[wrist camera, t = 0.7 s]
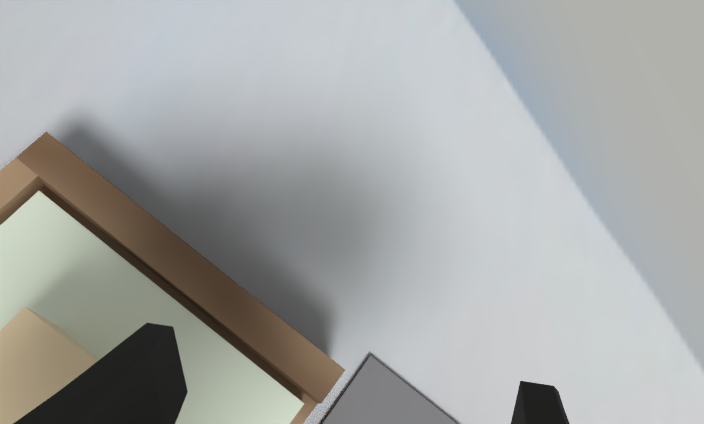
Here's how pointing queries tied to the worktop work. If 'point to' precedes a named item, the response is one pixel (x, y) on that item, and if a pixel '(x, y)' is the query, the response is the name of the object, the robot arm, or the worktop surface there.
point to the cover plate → (107, 324)
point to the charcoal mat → (382, 401)
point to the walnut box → (170, 267)
